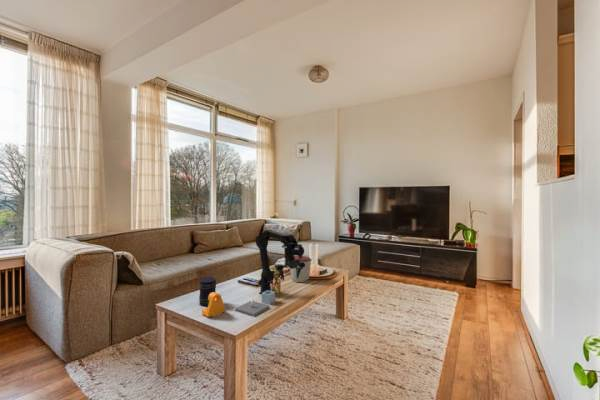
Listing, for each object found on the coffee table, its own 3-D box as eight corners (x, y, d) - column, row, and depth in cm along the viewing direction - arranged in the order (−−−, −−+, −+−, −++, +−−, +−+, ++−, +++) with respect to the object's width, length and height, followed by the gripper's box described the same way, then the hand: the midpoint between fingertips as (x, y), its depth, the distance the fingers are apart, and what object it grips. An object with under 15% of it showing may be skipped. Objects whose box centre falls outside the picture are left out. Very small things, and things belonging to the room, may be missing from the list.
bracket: (218, 308, 166) (218, 288, 166) (225, 312, 162) (225, 291, 161) (201, 314, 158) (201, 293, 158) (208, 318, 154) (208, 296, 153)
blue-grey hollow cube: (261, 302, 176) (261, 293, 176) (267, 299, 181) (267, 290, 181) (269, 304, 173) (269, 294, 173) (275, 301, 178) (275, 292, 178)
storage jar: (198, 307, 168) (198, 282, 168) (199, 301, 177) (199, 277, 177) (215, 305, 171) (216, 281, 170) (216, 299, 180) (216, 276, 180)
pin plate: (235, 310, 163) (235, 301, 163) (251, 302, 175) (251, 294, 175) (253, 316, 156) (253, 306, 156) (269, 308, 168) (269, 298, 168)
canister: (302, 275, 234) (303, 250, 233) (316, 281, 219) (316, 254, 218) (284, 279, 224) (284, 252, 223) (296, 285, 209) (297, 257, 208)
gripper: (278, 258, 166) (280, 285, 166) (307, 254, 173) (309, 280, 173) (273, 255, 177) (274, 280, 176) (301, 252, 184) (302, 276, 183)
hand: (290, 279), depth 177 cm, fingers open, 9 cm apart
